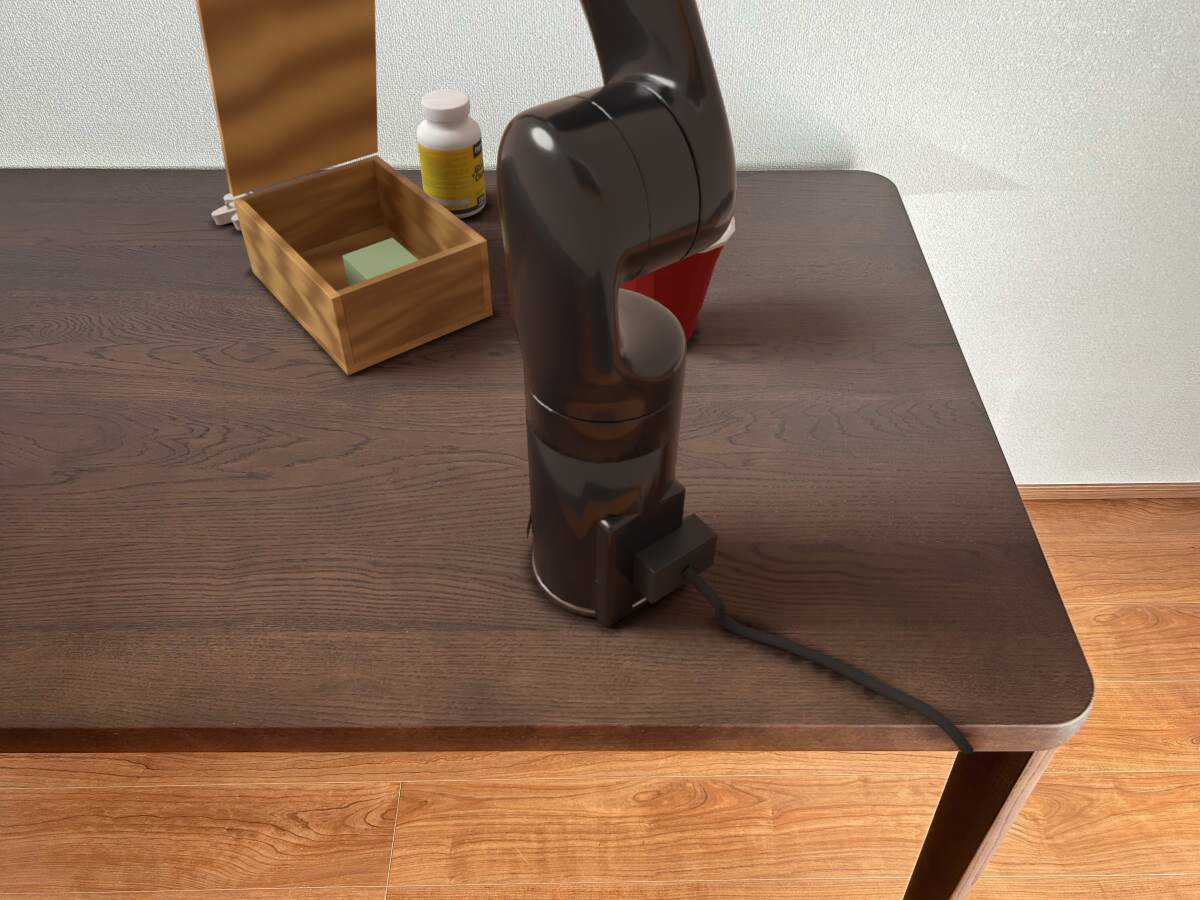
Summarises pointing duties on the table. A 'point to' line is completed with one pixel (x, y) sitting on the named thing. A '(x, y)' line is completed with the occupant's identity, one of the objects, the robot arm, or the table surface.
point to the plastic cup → (683, 283)
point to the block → (375, 260)
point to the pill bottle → (451, 153)
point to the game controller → (228, 211)
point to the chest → (351, 222)
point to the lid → (290, 85)
